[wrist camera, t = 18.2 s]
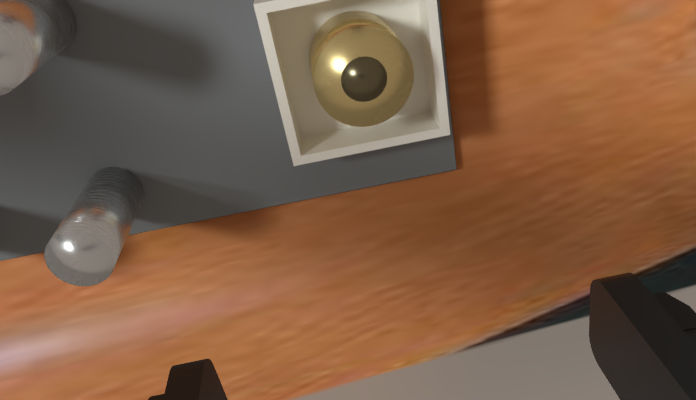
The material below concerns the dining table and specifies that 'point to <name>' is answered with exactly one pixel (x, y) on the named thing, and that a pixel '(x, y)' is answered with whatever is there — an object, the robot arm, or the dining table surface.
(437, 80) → the white square tray
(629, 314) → the robot arm
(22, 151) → the mat
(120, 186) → the spacers
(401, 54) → the nut
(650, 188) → the dining table surface
